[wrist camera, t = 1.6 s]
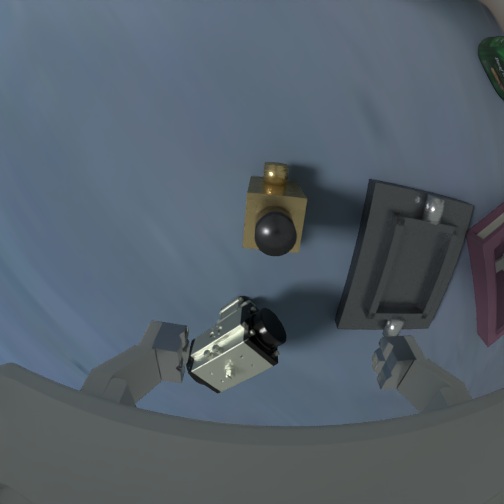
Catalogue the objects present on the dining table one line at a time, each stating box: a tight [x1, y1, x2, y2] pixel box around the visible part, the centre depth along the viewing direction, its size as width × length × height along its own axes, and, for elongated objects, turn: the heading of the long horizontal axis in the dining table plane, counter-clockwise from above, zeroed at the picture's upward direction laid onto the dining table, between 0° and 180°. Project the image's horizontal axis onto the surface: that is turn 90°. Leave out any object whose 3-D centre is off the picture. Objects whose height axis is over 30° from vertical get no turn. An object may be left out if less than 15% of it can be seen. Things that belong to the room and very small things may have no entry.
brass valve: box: [243, 162, 307, 256], centre depth 26 cm, size 9×5×11 cm, turn 175°
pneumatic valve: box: [186, 297, 286, 393], centre depth 32 cm, size 6×12×12 cm, turn 131°
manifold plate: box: [335, 179, 474, 337], centre depth 32 cm, size 20×16×4 cm
